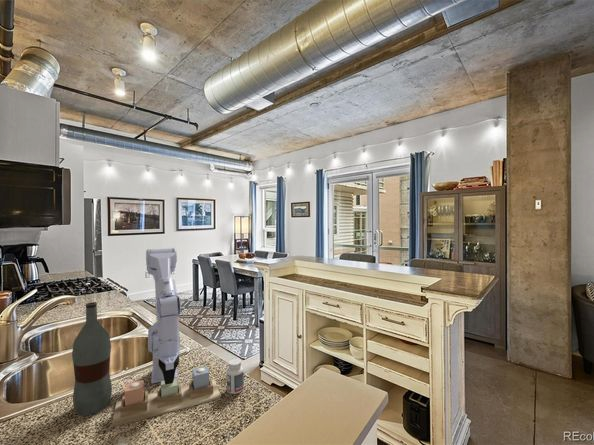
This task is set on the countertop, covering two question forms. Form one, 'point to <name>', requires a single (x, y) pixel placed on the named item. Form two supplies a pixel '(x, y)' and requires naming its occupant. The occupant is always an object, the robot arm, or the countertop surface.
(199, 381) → the slate-blue block
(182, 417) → the countertop surface
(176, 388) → the sage block
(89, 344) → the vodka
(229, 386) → the pill bottle
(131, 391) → the terracotta block
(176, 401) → the birch board
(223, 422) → the countertop surface
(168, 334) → the robot arm
